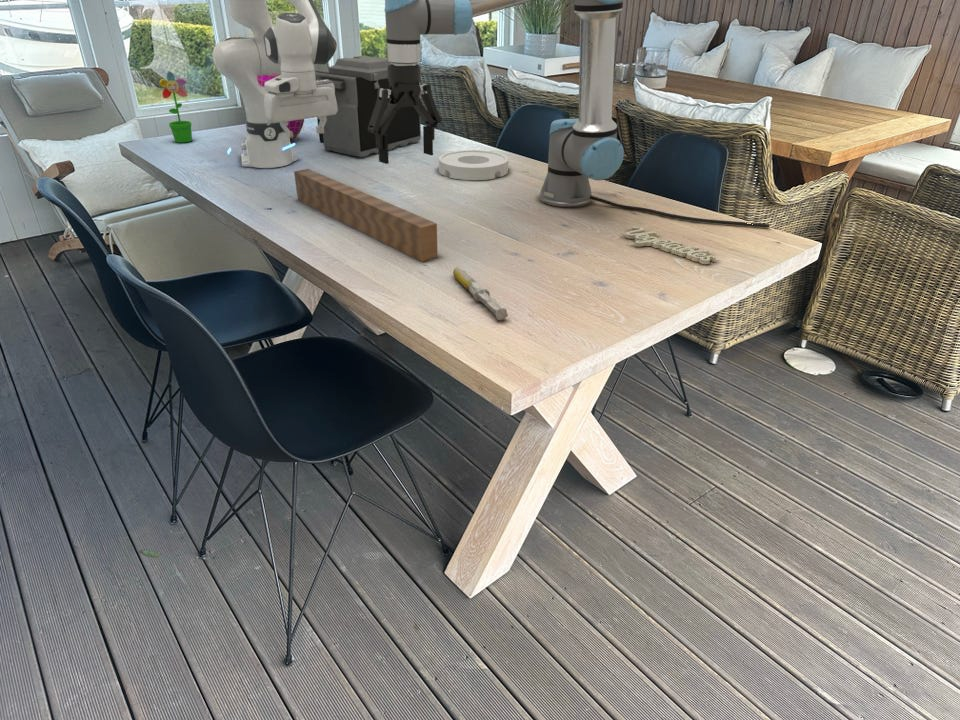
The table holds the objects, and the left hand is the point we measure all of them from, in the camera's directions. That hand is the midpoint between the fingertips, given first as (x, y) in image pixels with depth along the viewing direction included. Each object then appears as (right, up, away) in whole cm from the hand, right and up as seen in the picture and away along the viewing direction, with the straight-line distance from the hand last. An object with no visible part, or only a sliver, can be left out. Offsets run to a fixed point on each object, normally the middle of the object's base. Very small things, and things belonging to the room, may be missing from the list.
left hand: (305, 135), depth 189 cm
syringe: (+48, -49, -44) cm, 81 cm away
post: (+17, -26, -7) cm, 32 cm away
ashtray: (+46, +1, +41) cm, 61 cm away
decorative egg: (-27, +23, +76) cm, 83 cm away
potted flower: (-64, +21, +72) cm, 99 cm away
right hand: (+30, -13, -23) cm, 40 cm away
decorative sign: (+94, -34, -18) cm, 102 cm away
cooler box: (+7, +19, +69) cm, 72 cm away
